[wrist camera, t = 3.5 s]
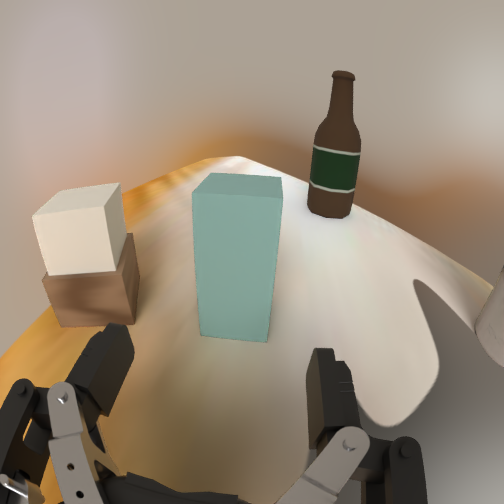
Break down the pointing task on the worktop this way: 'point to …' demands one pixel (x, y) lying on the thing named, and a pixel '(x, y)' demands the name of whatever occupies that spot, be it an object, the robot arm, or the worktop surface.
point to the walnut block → (97, 293)
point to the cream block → (82, 230)
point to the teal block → (236, 253)
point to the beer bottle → (335, 154)
